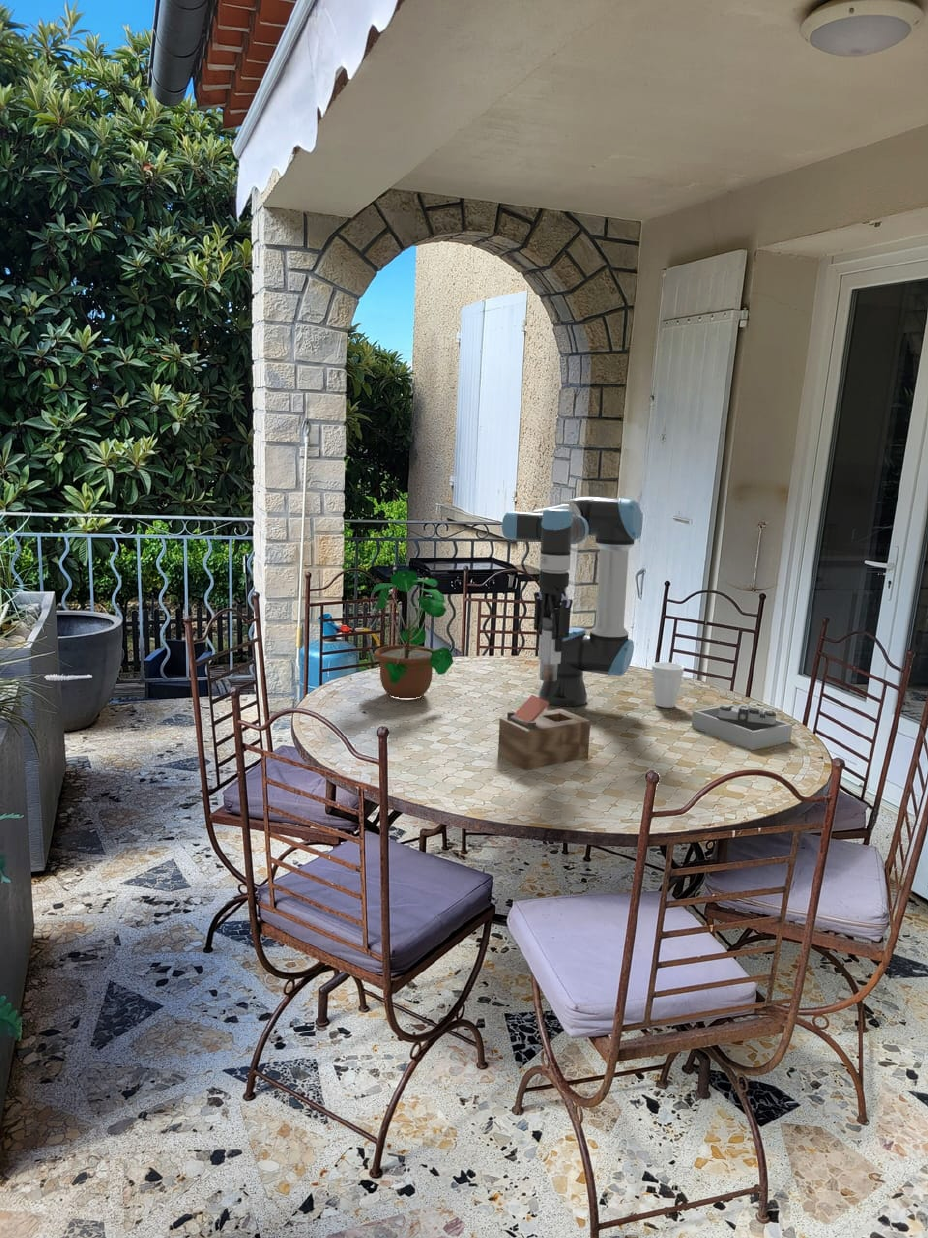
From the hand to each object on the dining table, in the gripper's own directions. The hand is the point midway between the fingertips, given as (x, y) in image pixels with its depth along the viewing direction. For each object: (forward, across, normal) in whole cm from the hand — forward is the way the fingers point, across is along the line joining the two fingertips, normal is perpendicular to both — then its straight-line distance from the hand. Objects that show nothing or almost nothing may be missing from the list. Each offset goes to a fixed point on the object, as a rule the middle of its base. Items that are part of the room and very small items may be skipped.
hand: (549, 661), depth 225 cm
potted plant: (+25, -62, -6) cm, 67 cm away
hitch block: (+25, +2, -2) cm, 25 cm away
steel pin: (+5, 0, 0) cm, 5 cm away
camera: (+25, +12, +61) cm, 68 cm away
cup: (+25, -20, +61) cm, 69 cm away
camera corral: (+25, +11, +61) cm, 67 cm away
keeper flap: (+12, +2, -7) cm, 14 cm away
